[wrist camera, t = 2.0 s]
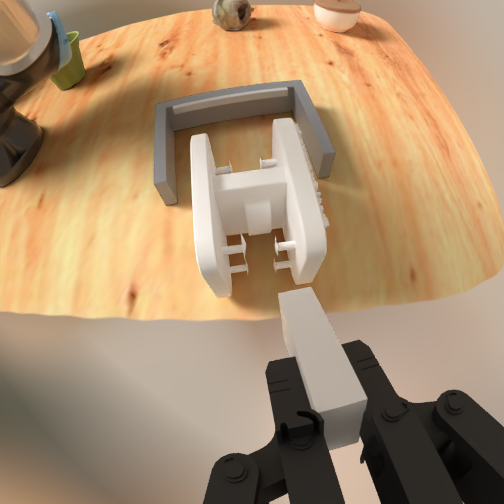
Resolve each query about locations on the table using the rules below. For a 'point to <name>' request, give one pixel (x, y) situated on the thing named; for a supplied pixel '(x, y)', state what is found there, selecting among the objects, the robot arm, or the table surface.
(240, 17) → the grey lumpy rounded piece
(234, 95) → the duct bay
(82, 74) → the plant pot
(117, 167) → the table surface
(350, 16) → the lidded jar
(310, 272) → the cable organizer
